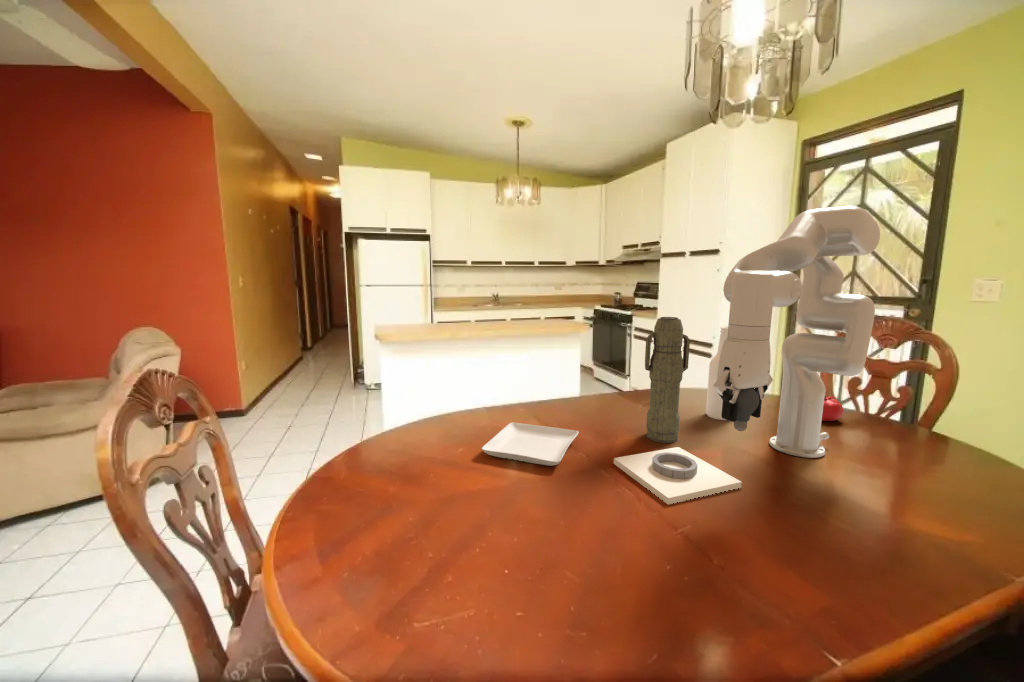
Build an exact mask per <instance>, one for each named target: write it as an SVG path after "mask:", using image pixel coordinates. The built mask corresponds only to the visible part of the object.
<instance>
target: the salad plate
mask: <svg viewBox="0 0 1024 682" xmlns="http://www.w3.org/2000/svg"><path fill="white" fill-rule="evenodd" d="M579 433H580V432H579V430H574V429H568V428H561V427H560V428H559V427H552V426H545V425H537V424H536V425H535V424H528V423H522V422H521V423H520V422H509V423H508V424H507V425H505V427H504V428H502V429H501V430H500V431H499V432H497V434H495V435H494V436H493V437H492V438H491V439H490V440H489V441H488V442H486V443H485V444H484V445H483V446H482V447H481V450H482V451H483V452H484V453H485V454H486V455H489V456H492V457H497V458H501V459H506V458H507V460H512V459H513V461H517V460H518V462H523V461H524V463H529V464H536V465H543V466H548V467H549V466H551V467H552V466H556V465H559V464H560V463H561V461H562V460H563V457H565V453H566V452H567V451H568V448H569V447H570V445H571V444H572V443H573V441H574V440H575V439H576V438H577V436H578V435H579Z"/></svg>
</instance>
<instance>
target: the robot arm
mask: <svg viewBox="0 0 1024 682" xmlns="http://www.w3.org/2000/svg"><path fill="white" fill-rule="evenodd" d="M880 239H881V229H880V226H879V224H878V222H877V220H876V219H875V218H874V217H873V216H872V215H871V214H870V213H869V212H868V211H867V210H866V209H864V208H862V207H860V206H856V205H846V206H845V205H844V206H836V207H835V206H834V207H826V208H825V207H824V208H815V209H814V208H813V209H808V210H805V211H803V212H801V213H798V214H797V216H795V217H794V218H793V220H792V221H791V222H790V224H789V225H788V226H787V228H786V229H785V230H784V232H783V233H782V234H781V236H779V238H778V239H777V241H774V242H772V243H770V244H767V245H765V246H763V247H760V248H759V249H757V250H754V251H752V252H749V253H748V254H746V255H745V256H743V257H742V258H740V259H739V260H738V261H737V262H736V264H735V265H733V267H732V269H731V270H730V271H729V273H728V275H727V276H726V278H725V281H724V284H723V288H722V289H723V296H724V297H725V300H726V301H727V302H729V311H728V312H729V316H728V326H727V327H728V336H727V339H725V341H724V343H723V346H722V350H721V354H720V359H719V365H718V373H717V381H716V382H715V384H714V386H713V387H714V388H715V390H716V391H717V392H718V394H719V395H720V398H721V400H723V404H722V415H721V416H722V418H724V419H726V420H725V421H730V422H731V423H734V422H736V419H737V408H738V403H735V402H736V399H737V397H738V394H739V391H740V390H743V389H750V388H753V389H754V390H755V391H756V392H757V394H758V396H759V405H758V407H757V409H756V410H755V411H754V412H753V413H752V414H751V416H750V417H754V418H761V415H762V414H761V411H762V402H763V399H764V398H765V393H766V392H767V391H768V389H769V386H770V385H771V384H772V382H773V378H772V375H771V374H770V373H771V342H770V336H771V328H772V325H771V324H772V319H773V318H772V316H773V308H785V307H789V306H792V305H793V304H795V303H796V302H797V301H798V304H797V309H796V315H795V316H796V322H797V324H798V325H799V326H801V327H802V328H806V329H811V330H818V331H831V332H840V333H844V334H845V336H839V335H838V336H837V335H827V334H821V333H820V334H819V333H807V332H797V333H793V334H790V335H788V336H787V337H786V338H785V339H784V340H783V342H782V345H781V357H782V383H781V385H782V386H781V392H780V400H779V401H780V403H779V412H778V420H777V429H776V435H774V436H772V437H770V438H769V442H768V443H769V445H770V446H771V447H772V448H773V449H775V450H777V451H778V452H781V453H783V454H786V455H791V456H795V457H801V458H810V459H814V458H815V459H817V458H821V457H823V456H825V454H826V449H825V447H824V446H823V445H821V441H823V440H828V439H829V438H830V434H829V433H828V432H825V431H823V432H821V429H822V422H823V421H822V413H823V405H824V397H825V392H826V386H825V383H824V381H823V380H822V378H821V377H820V375H819V374H818V373H826V374H831V375H839V376H846V377H854V376H858V375H860V374H861V373H862V372H863V371H864V368H865V365H866V362H867V357H868V352H869V347H870V343H871V338H872V332H873V327H874V322H875V315H876V309H875V303H874V301H873V300H872V299H871V298H870V297H869V296H866V295H864V294H863V295H862V294H857V293H856V294H854V293H842V289H843V282H844V279H845V278H844V277H845V276H844V273H843V272H842V270H841V268H840V267H839V266H838V264H837V263H836V262H835V261H834V260H833V259H832V258H831V257H854V256H855V257H858V256H867V255H870V254H871V253H873V252H874V251H875V250H876V249H877V247H878V245H879V244H880ZM800 270H802V273H803V277H802V278H803V280H802V281H801V279H800V277H799V276H798V274H796V273H794V272H795V271H800ZM731 384H732V387H731ZM730 390H733V392H732V394H730V393H729V391H730Z"/></svg>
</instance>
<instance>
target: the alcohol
mask: <svg viewBox="0 0 1024 682" xmlns="http://www.w3.org/2000/svg"><path fill="white" fill-rule="evenodd" d="M727 336H728V326H726V325H725V326H721V327H720V336H719V340H718V347H717V352H716V353H715V355H714V356H713V357H712V358H711V359H710V363H709V367H708V378H707V379H708V381H707V391H706V405H705V413H706V415H707V417H708V418H710V419H713V420H719V421H727V420H726V419H724V418H722V416H721V415H722V404H723V400H721V398H720V395H719V394H718V392H717V391H716V390H715V388H714V387H713V386H714V384H715V382H716V381H717V373H718V365H719V359H720V354H721V350H722V346H723V343H724V341H725V339H727ZM731 387H732V384H731Z"/></svg>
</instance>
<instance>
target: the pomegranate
mask: <svg viewBox="0 0 1024 682" xmlns="http://www.w3.org/2000/svg"><path fill="white" fill-rule="evenodd" d="M844 412H845V411H844V407H843V404H841V403H840V400H839V399H838V398H837V397H836V396H834V395H831V396H827V391H825V397H824V405H823V413H822V421H821V422H834V421H838V420H839V419H840V418H841V417H842V416H843V414H844Z"/></svg>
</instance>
